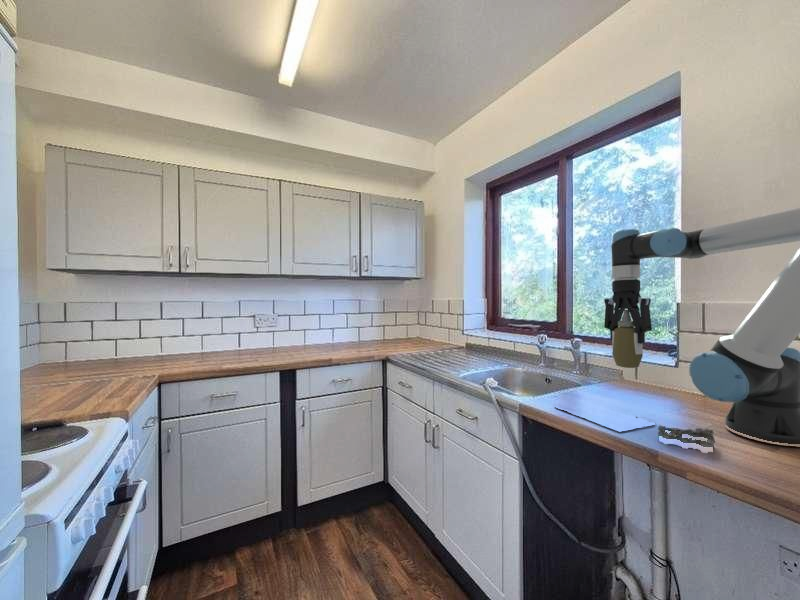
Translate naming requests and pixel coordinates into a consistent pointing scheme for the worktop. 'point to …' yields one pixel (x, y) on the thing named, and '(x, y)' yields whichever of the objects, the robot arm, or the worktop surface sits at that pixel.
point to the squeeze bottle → (625, 343)
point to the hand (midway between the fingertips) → (627, 352)
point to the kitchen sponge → (677, 434)
